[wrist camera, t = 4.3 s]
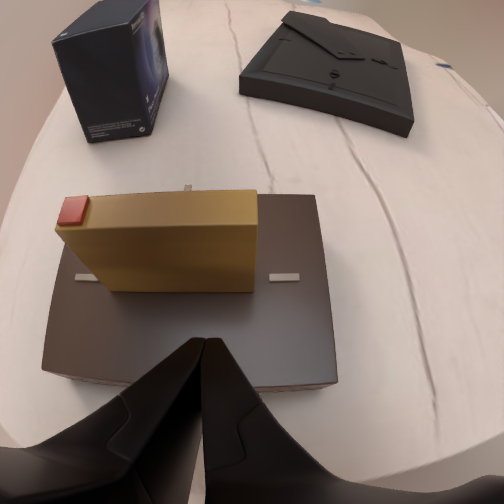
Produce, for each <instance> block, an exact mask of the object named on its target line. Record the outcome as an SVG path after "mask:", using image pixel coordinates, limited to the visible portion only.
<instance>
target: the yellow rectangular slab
mask: <svg viewBox="0 0 504 504" xmlns="http://www.w3.org/2000/svg"><path fill="white" fill-rule="evenodd" d="M55 232H56V233H57V234H58V235H59V236H60V238H61V239H62V240H63V241H64V242H65V243H66V245H67V246H68V247H69V248H70V249H71V250H72V252H73V253H74V254H75V255H76V256H77V257H78V258H79V259H80V260H81V262H82V263H83V264H84V265H85V266H86V267H87V268H88V269H89V270H90V271H91V273H92V274H93V275H94V276H95V277H96V278H97V279H98V280H99V281H100V282H101V283H102V284H103V285H104V286H105V287H106V288H107V289H108V290H109V291H126V292H254V287H255V271H256V254H257V238H258V204H257V191H256V190H205V191H176V192H154V193H136V194H120V195H106V196H94V197H88V196H76V197H66V198H65V200H64V203H63V206H62V208H61V211H60V214H59V217H58V220H57V224H56V228H55Z"/></svg>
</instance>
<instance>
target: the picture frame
mask: <svg viewBox="0 0 504 504" xmlns="http://www.w3.org/2000/svg"><path fill="white" fill-rule="evenodd" d="M281 21H282V22H283V23H282V24H281V25H280V26H279V28H278V29H277V30H276V31H275V32H274V33H273V35H272V36H271V37H270V38H269V39H268V41H267V42H266V43H265V44H264V45H263V47H262V48H261V49H260V50H259V51H258V53H257V54H256V55H255V56H254V58H253V59H252V60H251V61H250V63H249V64H248V65H247V66H246V68H245V69H244V70H243V72H242V73H241V74H240V75H239V94H241V95H247V96H253V97H258V98H264V99H269V100H274V101H279V102H283V103H288V104H292V105H297V106H301V107H305V108H310V109H314V110H318V111H321V112H325V113H329V114H333V115H336V116H340V117H343V118H347V119H350V120H354V121H357V122H360V123H364V124H367V125H370V126H373V127H376V128H379V129H382V130H385V131H388V132H391V133H394V134H397V135H399V136H402V137H405V138H407V137H408V134H409V132H410V130H411V128H412V126H413V123H414V115H413V108H412V101H411V94H410V88H409V83H408V77H407V72H406V67H405V62H404V57H403V53H402V48H401V44H400V43H399V42H396V41H394V40H391V39H388V38H384V37H381V36H378V35H375V34H372V33H368V32H365V31H361V30H358V29H354V28H350V27H346V26H342V25H338V24H334V23H330V22H329V21H328V20H327V19H326V18H323V17H318V16H314V15H309V14H305V13H300V12H295V11H289V12H288V13H287V14H286V15H285V16H284V17H283V19H282V20H281Z"/></svg>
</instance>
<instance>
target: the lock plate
mask: <svg viewBox="0 0 504 504" xmlns="http://www.w3.org/2000/svg"><path fill="white" fill-rule="evenodd" d="M191 188H192V186H191V185H185V190H184V191H191ZM257 204H258V238H257V254H256V271H255V287H254V292H126V291H109V290H108V289H107V288H106V287H105V286H104V285H103V284H102V283H101V282H100V281H99V280H98V279H97V278H96V277H95V276H94V275H93V274H92V273H91V271H90V270H89V269H88V268H87V267H86V266H85V265H84V264H83V263H82V262H81V260H80V259H79V258H78V257H77V256H76V255H75V254H74V253H73V252H72V250H71V249H70V248H69V247H68V246H67V245H66V243H65V245H64V249H63V252H62V256H61V260H60V264H59V268H58V273H57V277H56V281H55V286H54V291H53V295H52V301H51V306H50V311H49V317H48V323H47V329H46V336H45V343H44V351H43V359H42V370H44V371H47V372H50V373H53V374H56V375H59V376H62V377H66V378H69V379H75V380H81V381H87V382H94V383H101V384H108V385H116V386H125V387H129V386H130V385H131V384H133V383H134V382H135V381H137V380H138V379H139V378H141V377H142V376H143V375H144V374H146V373H147V372H148V371H150V370H151V369H152V368H153V367H155V366H156V365H157V364H158V363H160V362H161V361H162V360H164V359H165V358H166V357H167V356H169V355H170V354H171V353H172V352H174V351H175V350H176V349H177V348H179V347H180V346H181V345H183V344H184V343H185V342H186V341H188V340H189V339H190V338H192V337H203V338H206V339H207V338H222V340H223V341H224V343H225V344H226V346H227V348H228V349H229V351H230V352H231V354H232V355H233V357H234V359H235V360H236V362H237V363H238V365H239V366H240V368H241V369H242V371H243V372H244V374H245V376H246V377H247V379H248V380H249V382H250V383H251V385H252V386H253V388H254V389H255V391H256V392H275V391H294V390H309V389H321V388H324V387H327V386H330V385H333V384H336V383H338V376H337V363H336V352H335V341H334V331H333V321H332V312H331V303H330V295H329V287H328V279H327V271H326V264H325V256H324V249H323V243H322V236H321V229H320V223H319V217H318V211H317V205H316V199H315V195H299V194H257Z"/></svg>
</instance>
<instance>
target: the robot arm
mask: <svg viewBox="0 0 504 504" xmlns="http://www.w3.org/2000/svg"><path fill="white" fill-rule="evenodd" d="M119 395H120V396H119ZM119 395H117V396H116V397H114V398H113V399H112V400H110V401H109V402H108V403H106V404H105V405H104V406H102V407H101V408H99V409H98V410H96V411H95V412H94V413H92V414H90V415H89V416H87V417H86V418H84V419H82V420H81V421H79V422H77V423H76V424H74V425H72V426H70V427H69V428H67V429H65V430H63V431H62V432H60V433H58V434H56V435H55V436H53V437H51V438H49V439H47V440H46V441H44V442H42V443H40V444H38V445H35V446H32V447H27V448H8V447H0V504H188V499H189V494H190V489H191V484H192V479H193V474H194V469H195V464H196V459H197V454H198V449H199V444H200V439H201V435H202V434H203V452H204V468H205V484H206V496H205V504H504V476H496V475H486V476H482V477H480V478H477V479H475V480H472V481H470V482H468V483H466V484H464V485H461V486H459V487H456V488H453V489H450V490H445V491H441V492H431V493H419V492H408V491H401V490H394V489H386V488H381V487H375V486H369V485H364V484H359V483H354V482H349V481H345V480H343V479H341V478H339V477H337V476H335V475H333V474H332V473H330V472H329V471H328V470H326V469H325V468H324V467H323V466H322V465H321V464H320V463H319V462H318V461H316V460H315V459H314V458H313V457H312V456H311V455H310V454H309V453H308V452H307V451H306V450H305V449H304V448H303V447H302V446H301V445H300V444H299V443H298V442H296V441H295V440H294V439H293V438H292V437H291V436H290V435H289V433H288V432H287V431H286V430H285V429H284V428H283V427H282V426H281V425H280V424H279V423H278V421H277V420H276V419H275V417H274V416H273V415H272V414H271V412H270V411H269V409H268V408H267V407H266V405H265V404H264V402H263V401H262V399H261V398H260V397H259V395H258V394H257V392H256V391H255V389H254V388H253V386H252V385H251V383H250V382H249V380H248V379H247V377H246V376H245V374H244V372H243V371H242V369H241V368H240V366H239V365H238V363H237V362H236V360H235V359H234V357H233V355H232V354H231V352H230V351H229V349H228V348H227V346H226V344H225V343H224V341H223V340H222V338H207V339H206V338H203V337H192V338H190V339H189V340H188V341H186V342H185V343H184V344H183V345H181V346H180V347H179V348H177V349H176V350H175V351H174V352H172V353H171V354H170V355H169V356H167V357H166V358H165V359H164V360H162V361H161V362H160V363H158V364H157V365H156V366H155V367H153V368H152V369H151V370H150V371H148V372H147V373H146V374H144V375H143V376H142V377H141V378H139V379H138V380H137V381H135V382H134V383H133V384H131V385H130V386H129V387H128V388H126V389H125V390H124V391H122V392H121V393H120V394H119Z"/></svg>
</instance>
